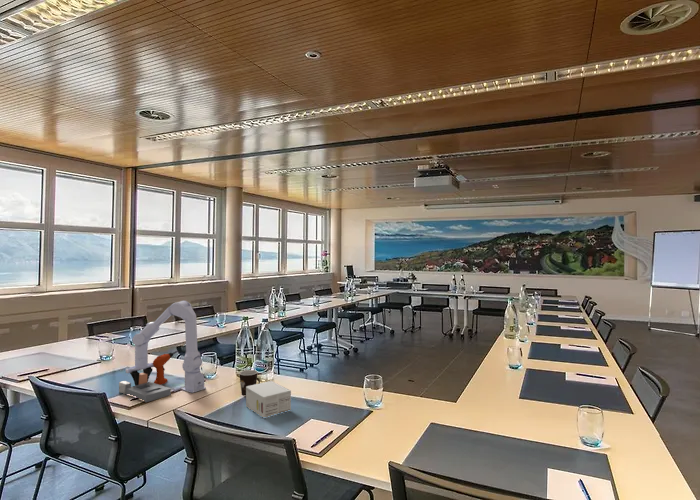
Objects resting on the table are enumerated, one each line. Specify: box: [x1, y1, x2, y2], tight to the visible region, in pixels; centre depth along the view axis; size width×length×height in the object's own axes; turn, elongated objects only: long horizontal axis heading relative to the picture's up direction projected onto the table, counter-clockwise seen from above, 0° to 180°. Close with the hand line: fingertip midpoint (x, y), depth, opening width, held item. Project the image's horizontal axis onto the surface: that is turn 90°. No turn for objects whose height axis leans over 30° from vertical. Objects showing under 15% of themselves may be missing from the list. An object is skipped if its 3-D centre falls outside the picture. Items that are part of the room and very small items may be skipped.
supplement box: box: [245, 380, 292, 418], centre depth 178 cm, size 17×13×9 cm
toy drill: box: [152, 350, 179, 386], centre depth 218 cm, size 5×19×15 cm, turn 166°
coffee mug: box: [238, 369, 261, 396], centre depth 197 cm, size 12×9×10 cm
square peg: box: [139, 372, 147, 385], centre depth 205 cm, size 4×4×7 cm
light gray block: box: [118, 380, 132, 395], centre depth 199 cm, size 6×3×5 cm, turn 55°
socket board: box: [126, 381, 172, 403], centre depth 196 cm, size 18×12×3 cm, turn 55°
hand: (141, 384), depth 205 cm, fingers open, 4 cm apart
